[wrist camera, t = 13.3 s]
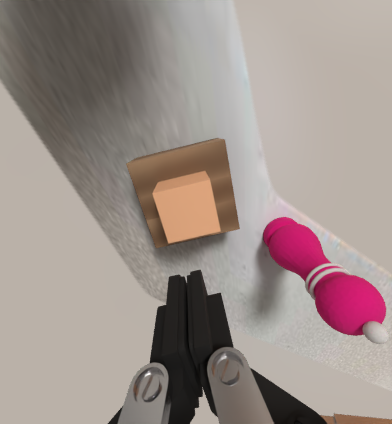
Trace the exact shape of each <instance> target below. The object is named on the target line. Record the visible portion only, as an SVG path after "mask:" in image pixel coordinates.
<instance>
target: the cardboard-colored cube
mask: <svg viewBox="0 0 392 424" xmlns="http://www.w3.org/2000/svg"><path fill="white" fill-rule="evenodd" d="M152 194H153V197H154V200H155V203H156V206H157V210H158V213H159V216H160V219H161V222H162V225H163V228H164V231H165V234H166V237H167V241H168V244H169V243H173V242H178V241H182V240H186V239H190V238H195V237H199V236H203V235H208V234H212V233H216V232H221V230H220V225H219V220H218V216H217V211H216V206H215V201H214V196H213V191H212V186H211V182H210V179H209V177H208V175H207V173H206V171H202V172H198V173H194V174H190V175H186V176H181V177H177V178H173V179H169V180H165V181H161V182H158V183H157V185H156V187H155V189H154V191H153V193H152Z"/></svg>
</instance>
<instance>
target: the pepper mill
mask: <svg viewBox="0 0 392 424" xmlns="http://www.w3.org/2000/svg"><path fill="white" fill-rule="evenodd" d="M263 237H264V241H265V243H266V245H267V246H268V247H269V252H270V255H271V257H272V258H273V259H274V260H275V261H276V263H278V264H279V265H280V266H282V267H283V268H285V269H287V270H289V271H292V272H294V273H296V274H298V275H300V276H301V278H302V279H303V280H304V281H305V287H306V290H307V292H308V293H309V294H310V295H311V297H312V298H313V299H314V300H315V304H316V308H317V311H318V313H319V314H320V316H321V318H322V319H323V320H324V321H325V322H326V323H327V324H328V325H329V326H331V327H332V328H333V329H335V330H337V331H339V332H341V333H344V334H347V335H355V336H357V335H365V336H366V338H367V339H368V340H370V341H371V342H373V343H376V344H384V343H386V342H387V341H388V338H389V334H388V331H387V329H386V328H385V327H384V326H383V325H381V324H382V322H383V321H384V318H385V316H386V306H385V302H384V300H383V298H382V296H381V294H380V293H379V292H378V290H377V289H376V288H375V287H374V286H373V285H372V284H370V283H369V282H368V281H366V280H365V279H363V278H360V277H357V276H354V275H351V273H350V272H349V271H347V270H345V268H344V267H343V266H341V265H339V264H336V263H331V262H330V261H329V260H328V259H327V258H326V257H325V255H324V253H323V250H322V247H321V244H320V241H319V240H318V238H317V236H316V235H315V234H314V233H313V232H312V231H311V230H310V229H309V228H308V227H306V226H304V225H301V224H298V223H297V222H295V221H294V220H293V219H290V218H287V217H281V218H277V219H275V220H273V221H272V222H270V223H269V224H268V225H267V227H266V228H265V230H264V234H263Z"/></svg>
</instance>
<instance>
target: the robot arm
mask: <svg viewBox="0 0 392 424" xmlns="http://www.w3.org/2000/svg"><path fill="white" fill-rule="evenodd" d="M202 387H203V390H204V392H205V395H206V398H207V400H208V403H209V406H210V409H211V411H212V412H213V413H214V414H215V415H216V416H217V417H218V419H219V423H220V424H392V419H382V418H372V417H361V416H351V415H342V414H334V417H333V416H323V415H319V414H318V413H316V412H315V411H314V410H312V409H311V408H309V407H308V406H306V405H305V404H303V403H302V402H300V401H299V400H297V399H296V398H294V397H293V396H291V395H290V394H288V393H287V392H286V391H284V390H283V389H281V388H280V387H278V386H277V385H275V384H274V383H272V382H271V381H269V380H268V379H266V378H265V377H263V376H262V375H260V374H259V373H257V372H256V371H254V370H253V369H251V368H250V367H249V365H248V362H247V360H246V358H245V357H244V355H243V354H242V353H241V352H240V351H239V350H237V349H235V348H234V347H233V343H232V339H231V335H230V330H229V326H228V321H227V317H226V313H225V309H224V304H223V300H222V296H221V293H217V294H213V295H208V294H207V291H206V287H205V283H204V280H203V276H202V272H201V270H197V271H192V272H190V275H188V276H187V283H186V280H185V277H184V276H183V277H181V276H180V275H175V276H170V277H169V281H168V292H167V302H166V305H164V306H160V307H158V309H157V315H156V322H155V329H154V336H153V343H152V350H151V357H150V364H147V365H145V366H144V367H142V368H141V369H140V370H139V371H138V372H137V373H136V375H135V376H134V377H133V379H132V382H131V384H130V387H129V390H128V393H127V396H126V399H125V402H124V405H123V406H122V408H121V409H120V410H119V411H118V412H117V413H116V415H115V416H114V417H113V418H112V419H111V421H110V422H109V423H108V424H190V422H191V420H192V419H193V417H194V416H195V408H198V407H199V398H198V397H202V396H203V390H202Z"/></svg>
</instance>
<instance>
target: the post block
mask: <svg viewBox="0 0 392 424" xmlns="http://www.w3.org/2000/svg"><path fill="white" fill-rule="evenodd" d="M126 165H127V168H128V170H129V173H130V176H131V179H132V182H133V185H134V187H135V190H136V193H137V196H138V199H139V202H140V204H141V207H142V210H143V213H144V216H145V219H146V221H147V224H148V227H149V230H150V233H151V236H152V238H153V241H154V244H155V247H156V248H159V247H164V246H168V245H172V244H177V243H181V242H185V241H190V240H194V239H198V238H203V237H207V236H211V235H216V234H220V233H224V232H228V231H233V230H237V229H240V228H239V222H238V216H237V210H236V204H235V198H234V192H233V186H232V180H231V174H230V168H229V162H228V156H227V150H226V144H225V140H224V139H219V138H215V139H211V140H207V141H203V142H199V143H195V144H191V145H187V146H183V147H179V148H175V149H171V150H167V151H162V152H158V153H154V154H150V155H146V156H142V157H138V158H136V159H134V160H132V161H130V162H129V163H127V164H126ZM202 171H206V173H207V175H208V177H209V179H210V182H211V186H212V191H213V196H214V201H215V206H216V211H217V216H218V220H219V225H220V230H221V232H216V233H212V234H208V235H203V236H199V237H195V238H190V239H186V240H182V241H178V242H173V243H169V244H168V241H167V237H166V234H165V231H164V228H163V225H162V222H161V219H160V216H159V213H158V210H157V206H156V203H155V200H154V197H153V194H152V193H153V191H154V189H155V187H156V185H157V183H158V182H161V181H165V180H169V179H173V178H177V177H181V176H186V175H190V174H194V173H198V172H202Z"/></svg>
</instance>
